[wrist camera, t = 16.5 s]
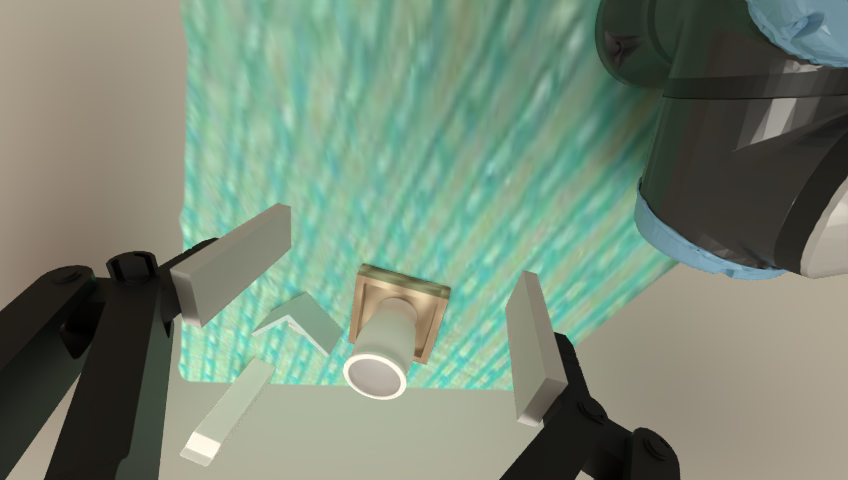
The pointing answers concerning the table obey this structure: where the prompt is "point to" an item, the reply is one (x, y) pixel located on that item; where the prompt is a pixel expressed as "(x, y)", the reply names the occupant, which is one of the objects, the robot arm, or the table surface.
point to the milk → (228, 413)
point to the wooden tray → (387, 284)
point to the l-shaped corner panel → (305, 322)
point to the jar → (383, 351)
